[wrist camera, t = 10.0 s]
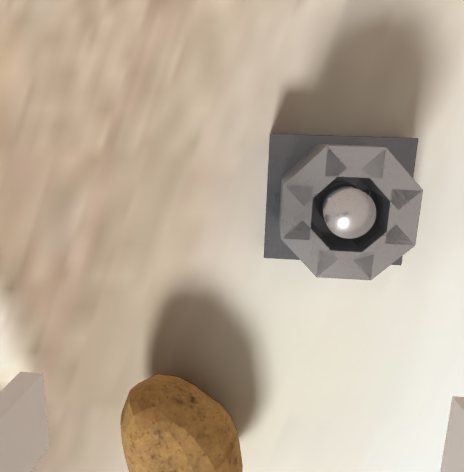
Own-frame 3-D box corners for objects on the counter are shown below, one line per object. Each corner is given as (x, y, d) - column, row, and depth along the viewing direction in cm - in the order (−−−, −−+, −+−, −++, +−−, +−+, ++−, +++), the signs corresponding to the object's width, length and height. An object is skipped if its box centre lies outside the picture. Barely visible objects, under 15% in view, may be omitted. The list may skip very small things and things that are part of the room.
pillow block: (264, 247, 34) (262, 280, 26) (270, 133, 32) (270, 133, 24) (389, 253, 33) (426, 290, 26) (404, 137, 31) (448, 139, 23)
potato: (211, 334, 36) (195, 388, 29) (266, 464, 39) (265, 546, 31) (112, 365, 38) (72, 424, 30) (172, 488, 41) (149, 571, 33)
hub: (277, 252, 31) (278, 275, 26) (283, 142, 29) (286, 144, 24) (387, 258, 30) (410, 282, 26) (401, 146, 28) (428, 149, 24)
